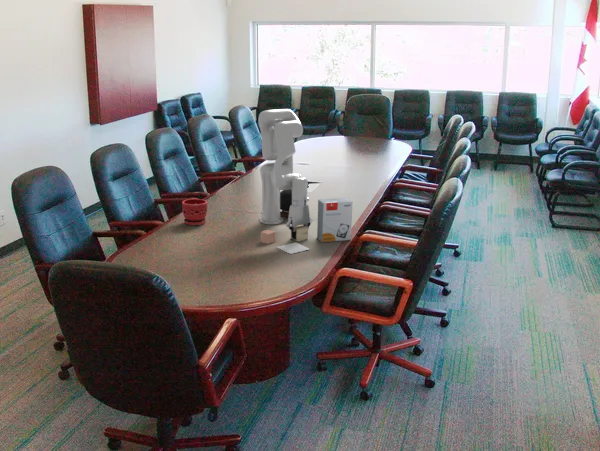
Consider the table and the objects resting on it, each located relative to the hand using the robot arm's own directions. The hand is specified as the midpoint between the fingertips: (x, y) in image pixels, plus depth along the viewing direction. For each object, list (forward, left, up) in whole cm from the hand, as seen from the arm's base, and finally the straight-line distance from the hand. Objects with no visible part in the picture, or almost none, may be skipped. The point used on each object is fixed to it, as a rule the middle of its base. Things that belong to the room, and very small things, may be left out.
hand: (299, 237), depth 324 cm
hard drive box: (+10, +14, -1) cm, 17 cm away
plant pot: (-52, -31, -1) cm, 61 cm away
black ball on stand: (-36, +18, -1) cm, 40 cm away
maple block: (0, 0, -1) cm, 1 cm away
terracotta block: (-5, -15, -1) cm, 16 cm away
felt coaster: (+11, -11, -1) cm, 16 cm away
